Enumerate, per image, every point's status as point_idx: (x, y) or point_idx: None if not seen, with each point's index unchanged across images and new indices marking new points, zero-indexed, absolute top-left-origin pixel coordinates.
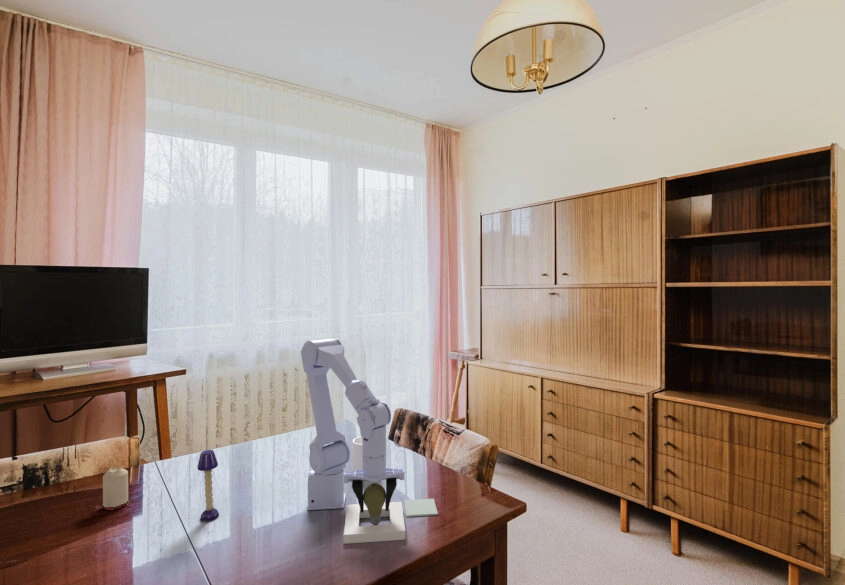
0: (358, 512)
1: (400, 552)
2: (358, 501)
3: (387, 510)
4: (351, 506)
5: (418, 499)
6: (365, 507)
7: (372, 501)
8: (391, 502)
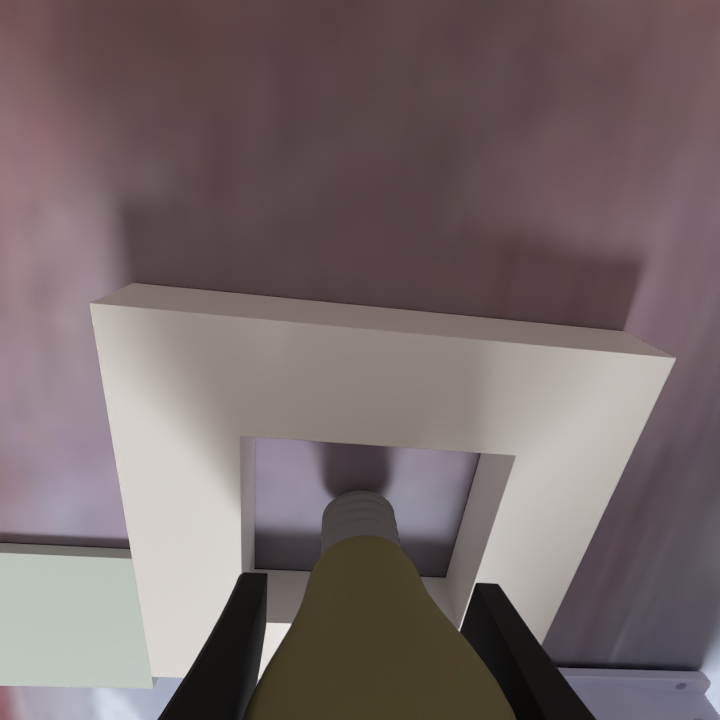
0: None
1: (174, 80)
2: (588, 710)
3: (248, 576)
4: None
5: (61, 686)
6: None
7: (431, 693)
8: None
